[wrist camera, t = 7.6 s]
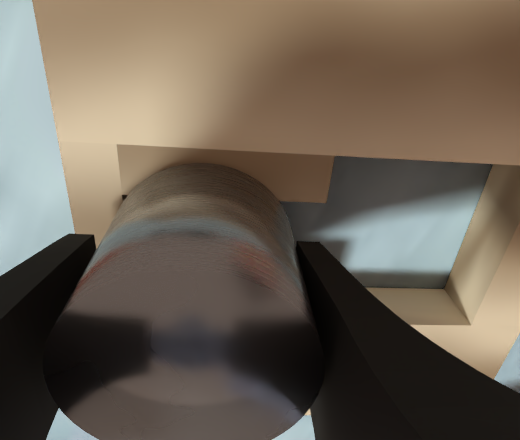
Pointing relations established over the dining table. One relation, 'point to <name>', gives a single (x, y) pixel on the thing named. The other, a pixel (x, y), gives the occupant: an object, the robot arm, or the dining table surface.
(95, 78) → the keyhole plate
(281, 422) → the keyhole peg
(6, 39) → the dining table surface
